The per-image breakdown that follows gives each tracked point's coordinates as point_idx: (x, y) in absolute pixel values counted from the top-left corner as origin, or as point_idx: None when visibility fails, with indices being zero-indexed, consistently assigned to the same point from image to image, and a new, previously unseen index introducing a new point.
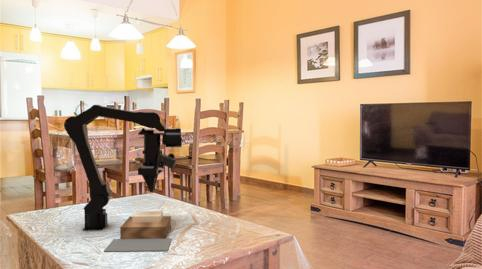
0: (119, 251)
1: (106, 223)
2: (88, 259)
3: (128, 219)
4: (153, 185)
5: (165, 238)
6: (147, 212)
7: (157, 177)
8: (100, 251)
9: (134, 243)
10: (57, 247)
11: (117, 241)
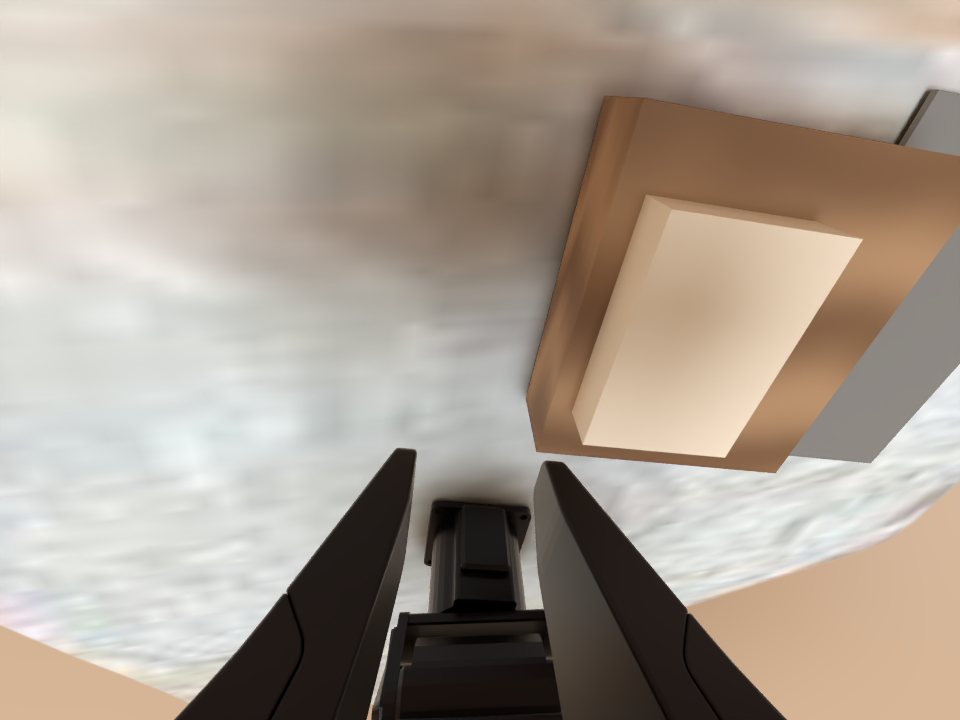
0: (918, 404)
1: (483, 516)
2: (901, 490)
3: (614, 451)
4: (644, 566)
5: None
6: (653, 363)
7: (214, 696)
8: (836, 469)
9: None
10: (694, 585)
11: None
